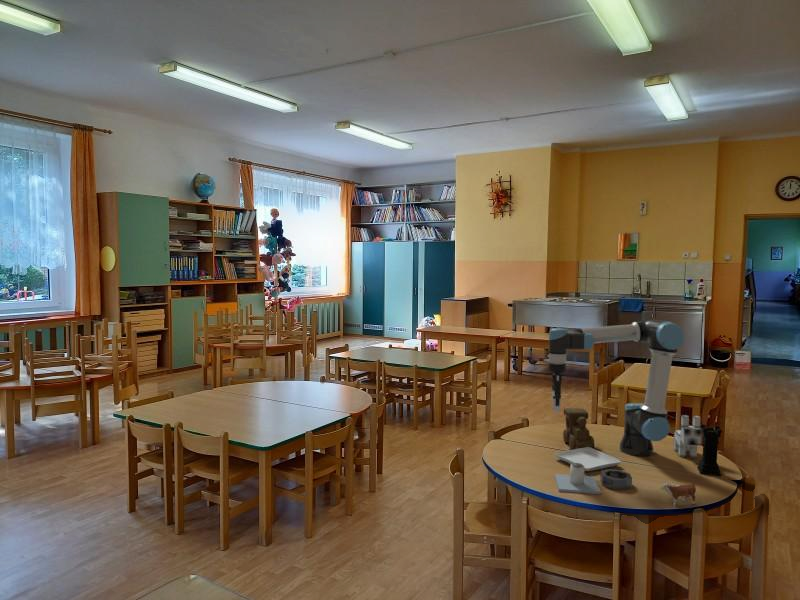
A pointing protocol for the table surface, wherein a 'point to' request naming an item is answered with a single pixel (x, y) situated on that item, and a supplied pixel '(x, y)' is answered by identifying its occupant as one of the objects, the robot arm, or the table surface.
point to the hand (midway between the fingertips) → (556, 408)
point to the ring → (616, 479)
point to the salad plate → (588, 458)
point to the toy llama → (688, 437)
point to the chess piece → (710, 451)
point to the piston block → (577, 481)
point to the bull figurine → (680, 491)
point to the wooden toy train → (577, 429)
